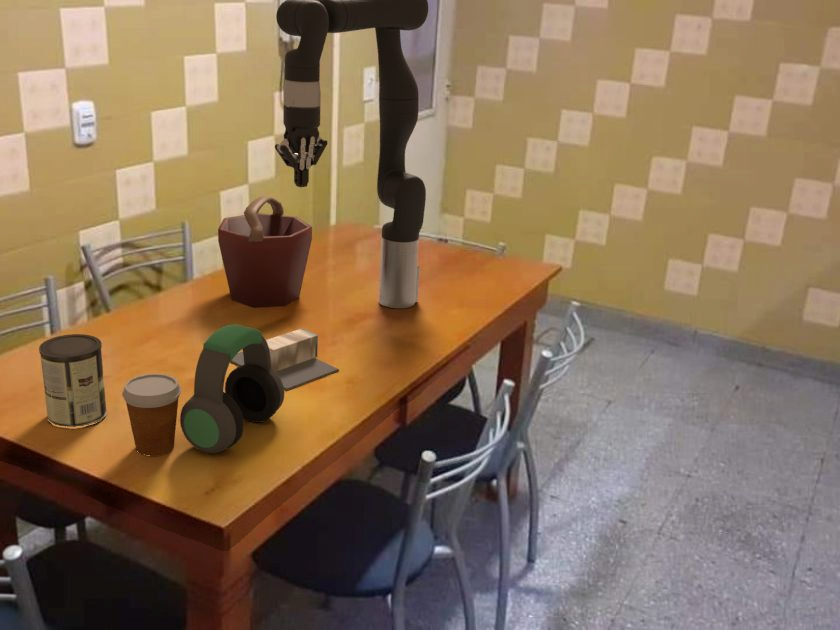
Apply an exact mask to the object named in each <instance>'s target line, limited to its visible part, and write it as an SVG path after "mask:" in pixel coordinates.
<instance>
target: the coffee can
mask: <svg viewBox="0 0 840 630" xmlns="http://www.w3.org/2000/svg"><path fill="white" fill-rule="evenodd" d="M102 344H103V343H102V341H101V339H99V337H96V336H94V335H89V334H85V333H84V334H81V333H79V334H78V333H76V334H75V333H73V334H63V335H59V336H55V337H51V338H49V339H47V340H45V341H43V342H42V343H40V345H39V347H38V351H39V355H40V360H41V363H40V364H41V372H42V379H43V388H44V396H45V397H44V398H45V404H46V415H47V417H48V420H49V421H50V422H51V423H53V424H55V425H59V426H65V427H66V426H67V427H76V426H84V425H89V424H92V423H96V422H98V421H100V422H102V421H103V420H104V419H105V418H106V417H107V415H106V414H108V410H107V404H106V403H107V401H106V391H105V379H104V365H103V355H102V347H103V345H102ZM105 416H106V417H105ZM104 417H105V418H104ZM103 418H104V419H103ZM102 419H103V420H102ZM48 420H47V421H48ZM101 420H102V421H101Z"/></svg>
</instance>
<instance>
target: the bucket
mask: <svg viewBox="0 0 840 630" xmlns="http://www.w3.org/2000/svg"><path fill="white" fill-rule="evenodd" d="M266 203H267V204H269V205H270V206H271V210H272V213H263V212H260V210H261V209H262V207H263V206H264V205H265V204H266ZM284 211H285V210H284V207H283V204H282V202H281V201H279V200H277V199H276V198H274V197H268V196H267V197H266V196H260V197H258V198H256V199H254V200H253V201H251V203H249V204H248V205H247V206H246V207H245V210H244V212H243V214H241V215H237V216H230V217H229V216H228V217H224V218H223V219H222V221H221V223H220V225H219V227H218V229H217V236H218V237H217V238H218V240H217V241H218V245H219V250H220V251H219V252H220V255H221V259H222V263H223V268H224V272H225V277H226V281H227V286H228V289H229V295H230V299H231V301H233V302H235V303H236V304H237V303H238V304H241V305H244V306H247V307H249V308H253V309H259V308H260V309H261V308H262V309H263V308H281V307H282V308H283V307H286V306H288V305H289V304H291V303H293V302H294V301H296V300H297V299H299V298H300V295H301V290H302V287H303V283H304V279H305V277H304V276H305V272H306V267H307V263H308V259H309V254H310V250H311V244H312V240H313V227H312V225H310V224H308V223H307V222H305V221H303V219H301V218H299V217H298V216H293V215H285V214H284Z"/></svg>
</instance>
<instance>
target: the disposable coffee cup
mask: <svg viewBox="0 0 840 630" xmlns="http://www.w3.org/2000/svg"><path fill="white" fill-rule="evenodd" d="M181 393H182V387H181V385H179V380H177V378H176V377H174V376H172V375H170V374H166V373H147V374H141V375H137V376H135V377H132V378H131V379H128V381H126V383H125V384H124V388H123V390H122V391H121V395H122V397H123V399H124V401H125V403H126V407H127V413H128V417H129V421H130V422H129V423H130V427H131V432H132V436H133V440H134V441H133V442H134V446H135V450H137V451H138V452H139V453H141V454H145V455H150V456H149V457H159V456H158V455H160V456H163V454H164V455H167V454H168V453H170V452H171V451H172V450H173V449H174V448H175V439H176V438H175V437H176V429H177V420H178V419H177V418H178V410H179V409H178V407H179V398H180V395H181ZM137 451H136V452H137ZM138 452H137V453H138ZM139 453H138V454H139ZM141 454H140V455H141Z"/></svg>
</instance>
